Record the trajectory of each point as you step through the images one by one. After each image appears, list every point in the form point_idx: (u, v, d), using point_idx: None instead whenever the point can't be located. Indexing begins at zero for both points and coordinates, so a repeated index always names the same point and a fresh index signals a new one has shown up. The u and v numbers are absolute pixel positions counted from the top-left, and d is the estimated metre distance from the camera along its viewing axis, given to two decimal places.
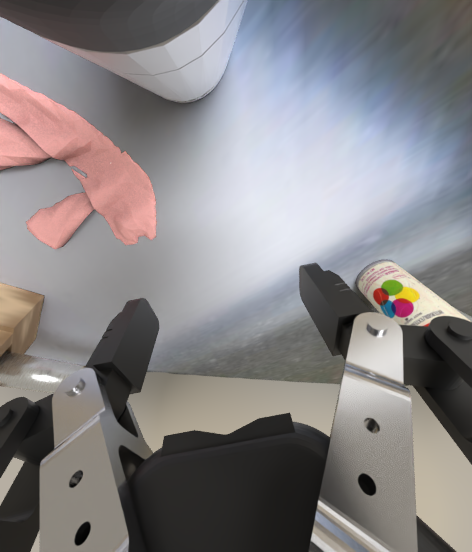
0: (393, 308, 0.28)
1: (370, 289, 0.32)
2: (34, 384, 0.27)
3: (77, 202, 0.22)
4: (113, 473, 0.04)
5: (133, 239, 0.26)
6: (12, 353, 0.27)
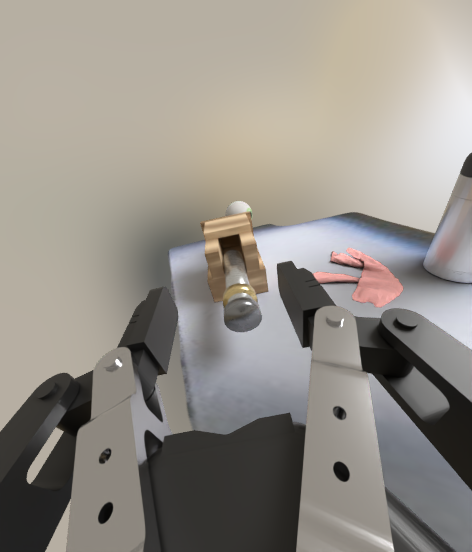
0: None
1: None
2: (239, 270, 0.34)
3: (351, 276, 0.42)
4: (137, 460, 0.04)
5: (364, 298, 0.36)
6: None
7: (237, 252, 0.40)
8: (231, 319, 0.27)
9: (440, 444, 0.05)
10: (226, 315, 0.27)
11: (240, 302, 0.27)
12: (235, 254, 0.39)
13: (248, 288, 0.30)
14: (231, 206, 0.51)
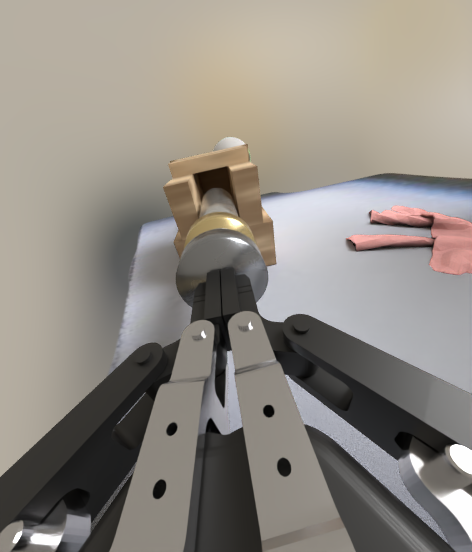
0: None
1: None
2: (223, 205, 0.18)
3: None
4: (195, 455, 0.04)
5: (459, 267, 0.20)
6: None
7: (224, 190, 0.24)
8: (194, 282, 0.11)
9: (358, 424, 0.06)
10: (180, 270, 0.11)
11: (214, 236, 0.10)
12: (220, 191, 0.23)
13: (237, 220, 0.13)
14: (219, 143, 0.34)
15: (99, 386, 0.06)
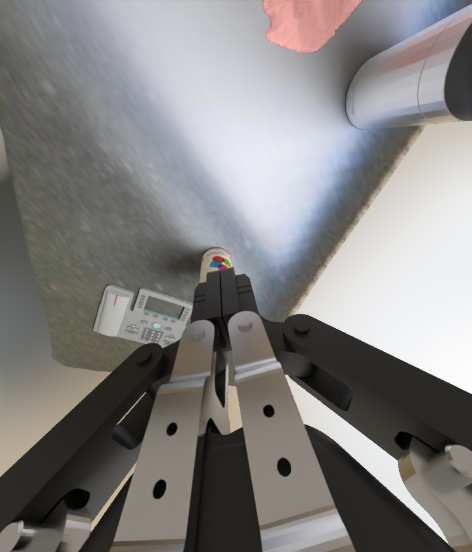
0: (219, 265, 0.39)
1: (216, 254, 0.42)
2: None
3: None
4: (195, 455, 0.04)
5: (270, 8, 0.26)
6: None
7: None
8: None
9: (357, 425, 0.06)
10: None
11: None
12: None
13: None
14: None
15: (99, 386, 0.06)
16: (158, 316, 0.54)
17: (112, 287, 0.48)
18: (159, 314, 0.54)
